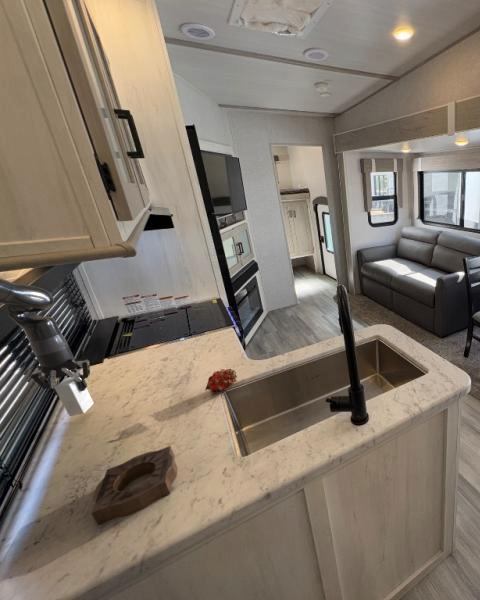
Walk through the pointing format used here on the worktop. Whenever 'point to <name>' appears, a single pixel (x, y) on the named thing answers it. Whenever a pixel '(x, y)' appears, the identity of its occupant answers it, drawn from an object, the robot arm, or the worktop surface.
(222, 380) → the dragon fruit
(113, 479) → the hole block
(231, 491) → the worktop surface
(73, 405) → the cosmetic box
